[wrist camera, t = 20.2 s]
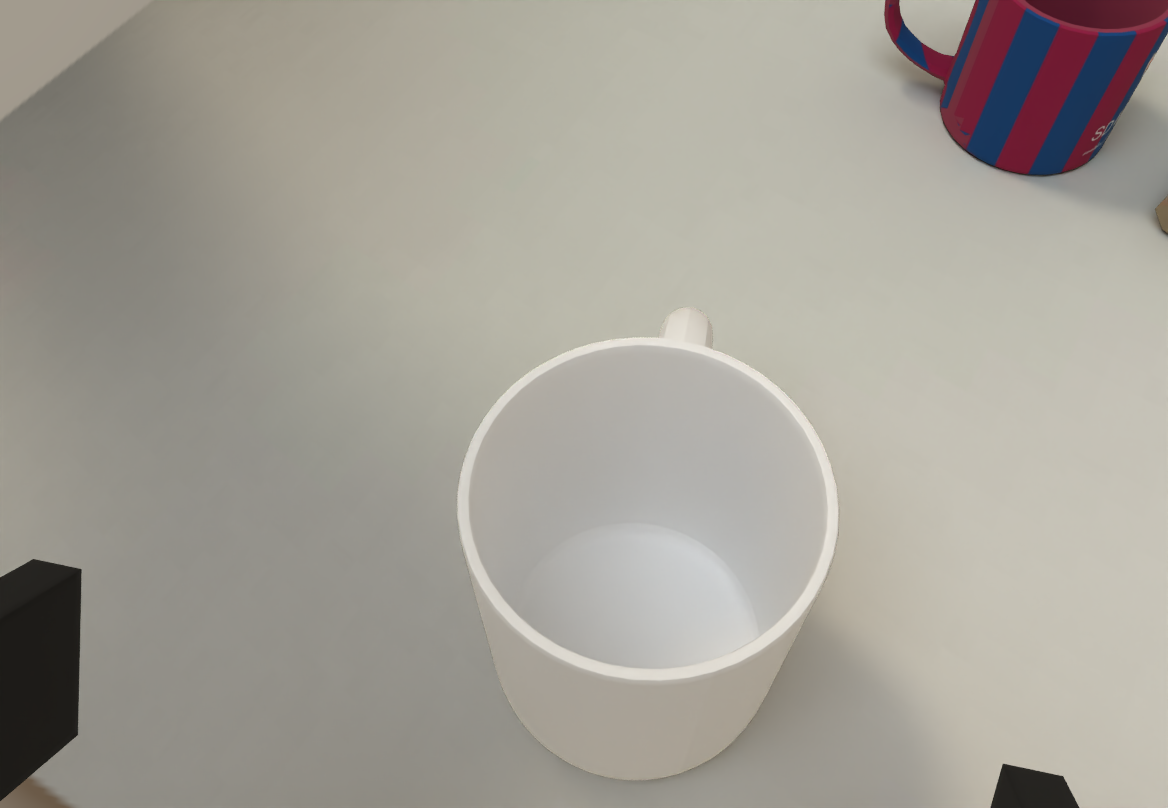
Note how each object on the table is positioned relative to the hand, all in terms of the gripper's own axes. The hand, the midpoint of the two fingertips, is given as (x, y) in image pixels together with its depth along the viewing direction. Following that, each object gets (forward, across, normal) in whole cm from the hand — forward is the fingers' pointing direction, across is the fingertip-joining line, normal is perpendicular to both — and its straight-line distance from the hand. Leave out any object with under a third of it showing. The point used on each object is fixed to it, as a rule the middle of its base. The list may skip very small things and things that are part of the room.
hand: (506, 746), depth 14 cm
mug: (+17, +1, -5) cm, 18 cm away
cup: (+34, +11, +12) cm, 38 cm away
